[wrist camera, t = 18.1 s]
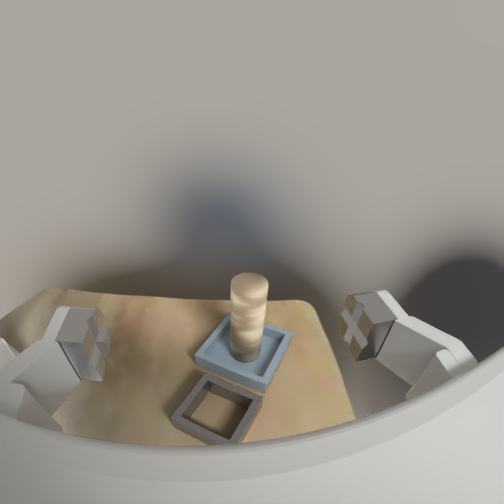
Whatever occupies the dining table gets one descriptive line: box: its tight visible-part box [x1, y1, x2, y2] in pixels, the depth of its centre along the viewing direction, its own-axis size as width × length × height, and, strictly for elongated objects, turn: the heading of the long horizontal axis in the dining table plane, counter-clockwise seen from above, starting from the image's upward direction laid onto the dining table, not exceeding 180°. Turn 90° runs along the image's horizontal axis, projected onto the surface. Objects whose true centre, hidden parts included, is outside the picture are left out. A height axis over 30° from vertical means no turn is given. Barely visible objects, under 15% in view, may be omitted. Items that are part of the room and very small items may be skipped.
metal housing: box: [170, 373, 263, 446], centre depth 32 cm, size 9×9×3 cm
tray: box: [194, 311, 293, 393], centre depth 43 cm, size 12×12×2 cm
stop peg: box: [230, 273, 268, 363], centre depth 40 cm, size 5×5×14 cm
